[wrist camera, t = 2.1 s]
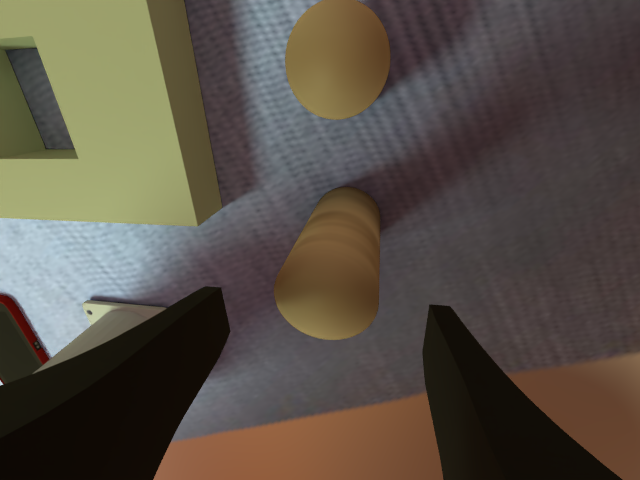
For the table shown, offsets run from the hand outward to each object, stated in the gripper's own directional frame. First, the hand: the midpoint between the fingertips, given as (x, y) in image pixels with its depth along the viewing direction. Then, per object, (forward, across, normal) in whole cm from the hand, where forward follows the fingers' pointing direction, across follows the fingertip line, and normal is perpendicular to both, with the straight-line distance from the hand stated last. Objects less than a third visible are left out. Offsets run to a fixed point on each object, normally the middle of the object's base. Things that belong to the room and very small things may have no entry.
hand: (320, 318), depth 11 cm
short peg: (+9, 0, -8) cm, 12 cm away
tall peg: (+9, 0, 0) cm, 9 cm away
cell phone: (+10, +34, +16) cm, 39 cm away
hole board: (+9, +17, -7) cm, 21 cm away
